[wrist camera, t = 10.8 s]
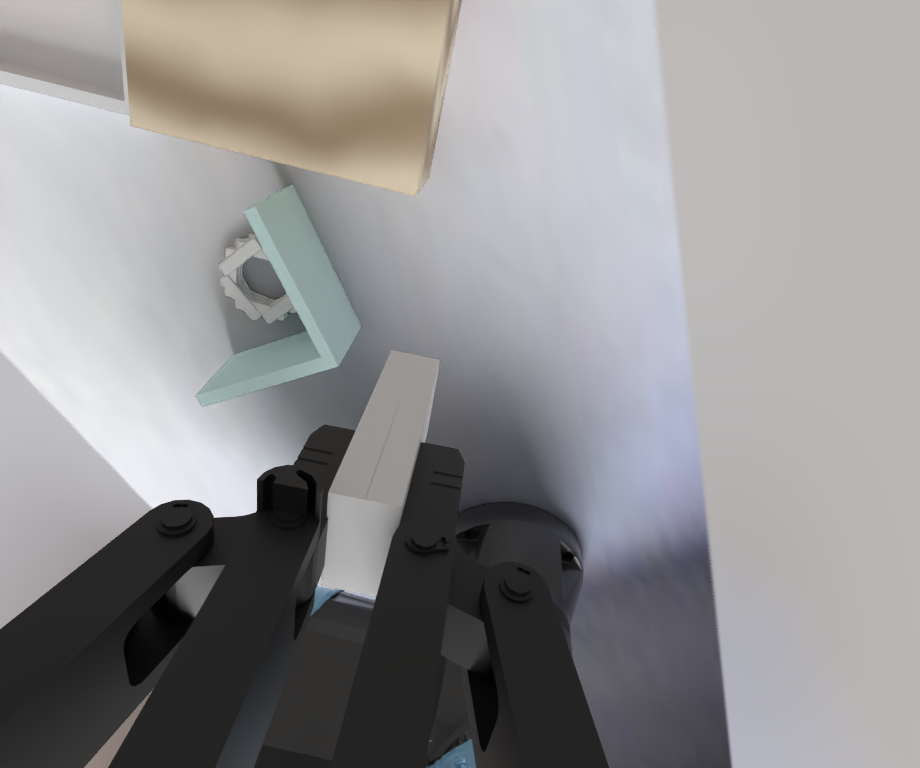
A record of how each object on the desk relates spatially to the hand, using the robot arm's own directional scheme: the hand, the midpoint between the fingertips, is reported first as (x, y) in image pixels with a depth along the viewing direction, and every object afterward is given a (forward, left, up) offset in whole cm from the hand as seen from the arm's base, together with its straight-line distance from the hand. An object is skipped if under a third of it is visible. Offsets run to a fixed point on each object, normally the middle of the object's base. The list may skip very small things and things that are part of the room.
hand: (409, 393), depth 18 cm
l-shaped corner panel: (-11, +15, -29) cm, 34 cm away
